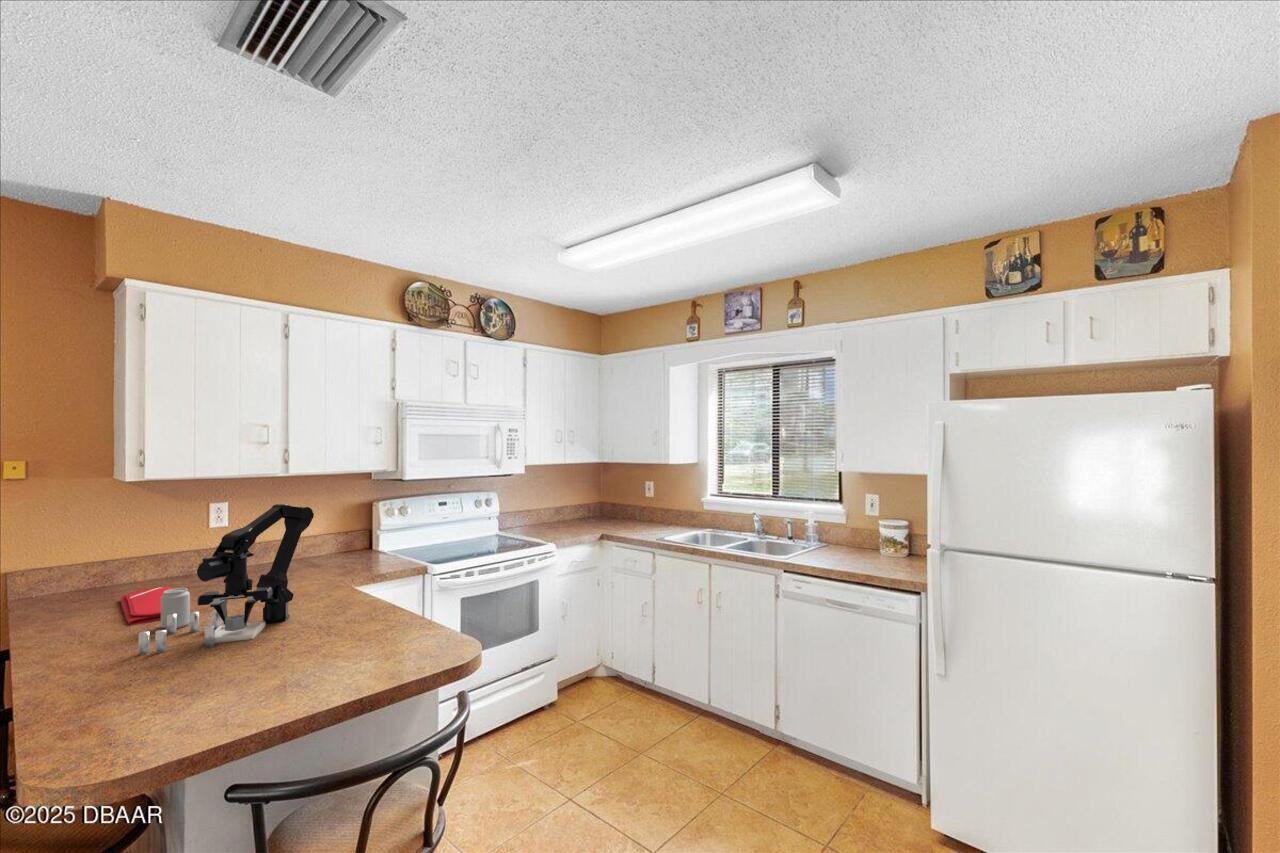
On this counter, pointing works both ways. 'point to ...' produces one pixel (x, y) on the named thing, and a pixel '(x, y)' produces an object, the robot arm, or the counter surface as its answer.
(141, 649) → the spacer posts
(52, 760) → the counter surface
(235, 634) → the tray
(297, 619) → the counter surface
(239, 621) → the grey faceted icosahedron
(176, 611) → the can
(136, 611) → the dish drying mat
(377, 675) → the counter surface
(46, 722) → the counter surface
